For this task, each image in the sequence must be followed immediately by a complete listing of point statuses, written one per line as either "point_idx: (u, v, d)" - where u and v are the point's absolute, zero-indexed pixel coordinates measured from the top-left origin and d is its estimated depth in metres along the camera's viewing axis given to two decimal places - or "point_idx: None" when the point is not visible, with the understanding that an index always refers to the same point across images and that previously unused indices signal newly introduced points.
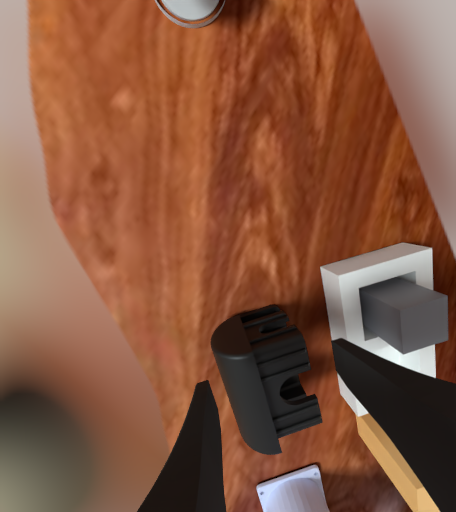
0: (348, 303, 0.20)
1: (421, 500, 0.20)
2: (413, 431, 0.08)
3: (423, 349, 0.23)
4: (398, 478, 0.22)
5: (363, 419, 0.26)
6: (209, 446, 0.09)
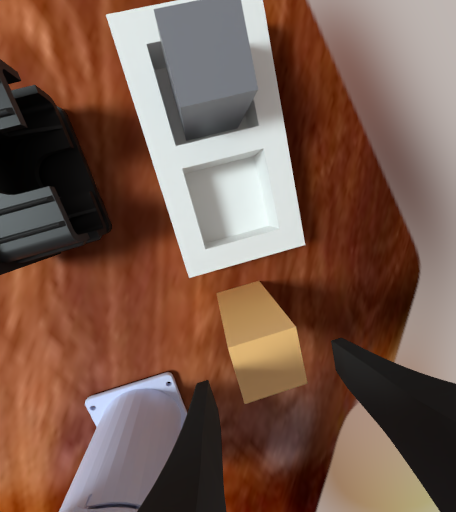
0: (135, 71, 0.13)
1: (241, 368, 0.13)
2: (413, 431, 0.08)
3: (274, 172, 0.16)
4: None
5: (218, 299, 0.19)
6: (209, 446, 0.09)
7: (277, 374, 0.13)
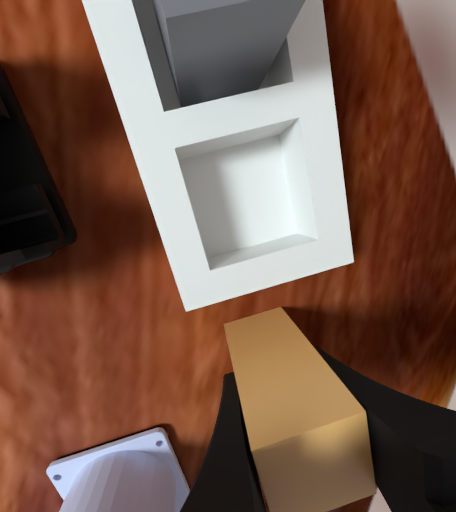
0: None
1: (272, 480, 0.08)
2: (374, 445, 0.08)
3: (314, 155, 0.10)
4: None
5: (227, 335, 0.14)
6: (245, 434, 0.09)
7: (330, 484, 0.08)
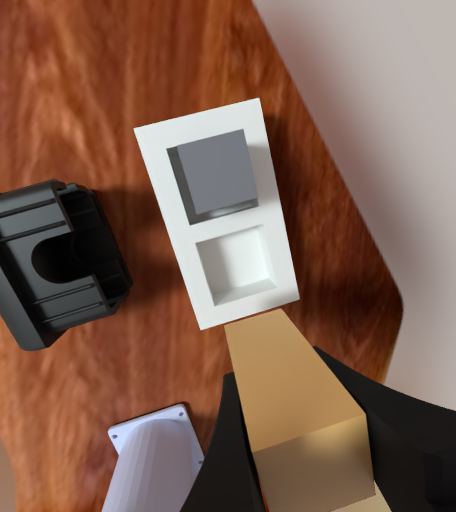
0: (156, 169, 0.16)
1: (272, 482, 0.08)
2: (374, 445, 0.08)
3: (273, 242, 0.19)
4: None
5: (227, 337, 0.14)
6: (245, 434, 0.09)
7: (329, 486, 0.08)
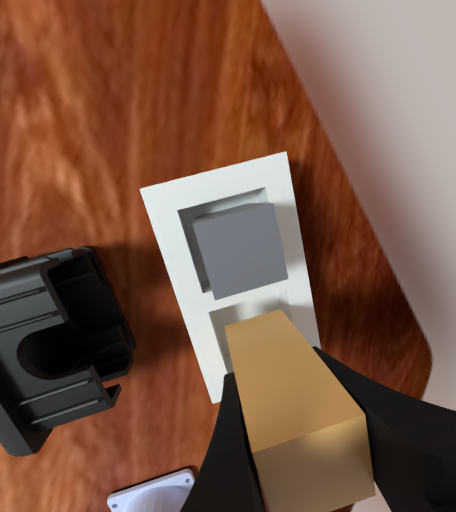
0: (165, 233, 0.14)
1: (272, 482, 0.08)
2: (373, 445, 0.08)
3: (296, 308, 0.16)
4: None
5: (228, 337, 0.14)
6: (245, 434, 0.09)
7: (330, 486, 0.08)
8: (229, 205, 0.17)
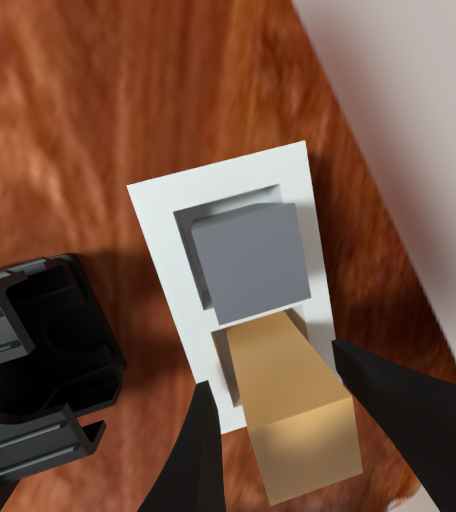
0: (159, 240, 0.12)
1: (266, 458, 0.09)
2: (413, 431, 0.08)
3: (313, 326, 0.14)
4: None
5: (227, 331, 0.15)
6: (209, 446, 0.09)
7: (320, 463, 0.09)
8: (234, 205, 0.14)
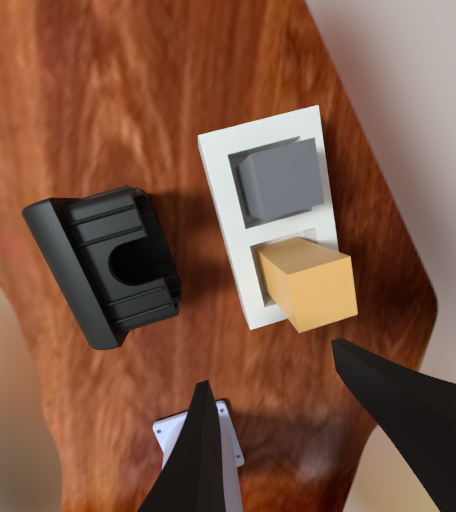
0: (217, 175, 0.17)
1: (297, 296, 0.14)
2: (413, 431, 0.08)
3: (323, 245, 0.19)
4: (281, 291, 0.16)
5: (259, 251, 0.20)
6: (209, 446, 0.09)
7: (330, 304, 0.14)
8: None
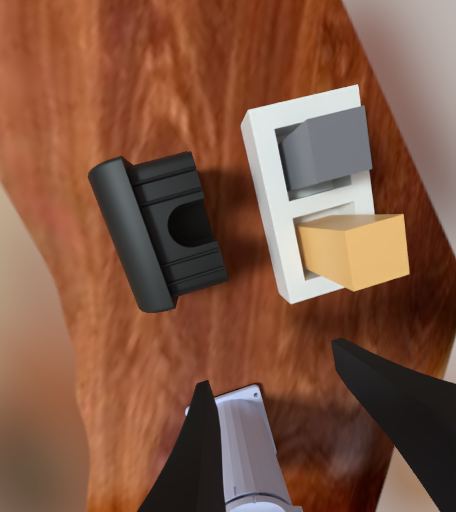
0: (264, 148, 0.18)
1: (353, 253, 0.14)
2: (413, 431, 0.08)
3: None
4: (331, 255, 0.16)
5: (298, 226, 0.20)
6: (209, 446, 0.09)
7: (384, 262, 0.15)
8: None
